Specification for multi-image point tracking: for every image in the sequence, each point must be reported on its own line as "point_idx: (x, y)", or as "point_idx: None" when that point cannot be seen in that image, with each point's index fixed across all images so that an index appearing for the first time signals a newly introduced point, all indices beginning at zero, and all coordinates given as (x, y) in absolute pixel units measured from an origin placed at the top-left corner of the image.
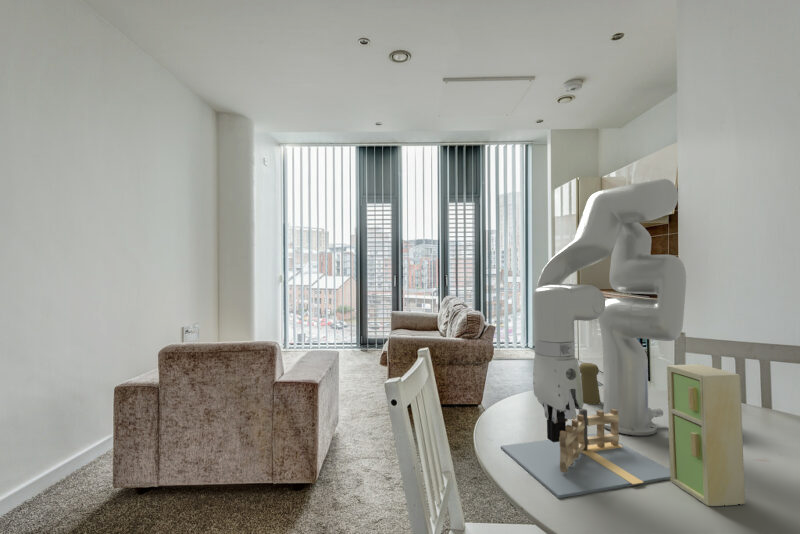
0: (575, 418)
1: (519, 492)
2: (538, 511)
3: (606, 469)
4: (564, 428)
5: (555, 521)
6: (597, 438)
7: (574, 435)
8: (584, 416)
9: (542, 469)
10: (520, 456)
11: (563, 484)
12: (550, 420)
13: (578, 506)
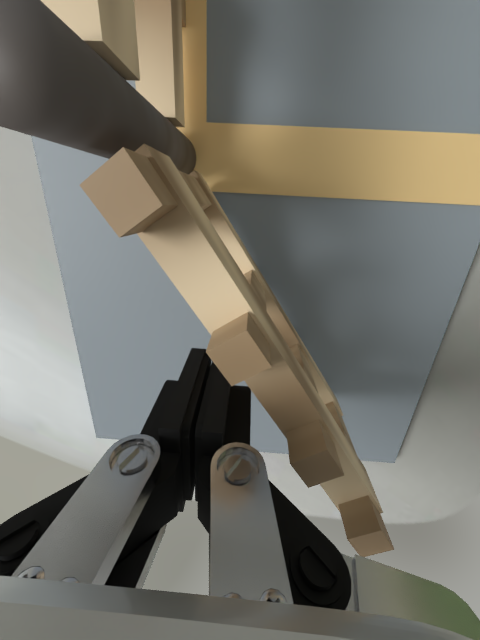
0: (459, 607)
1: (325, 504)
2: (400, 511)
3: (366, 211)
4: (249, 421)
5: (445, 505)
6: (172, 23)
7: (307, 382)
8: (106, 111)
9: (269, 420)
10: None
11: (362, 421)
12: (183, 498)
13: (441, 438)
